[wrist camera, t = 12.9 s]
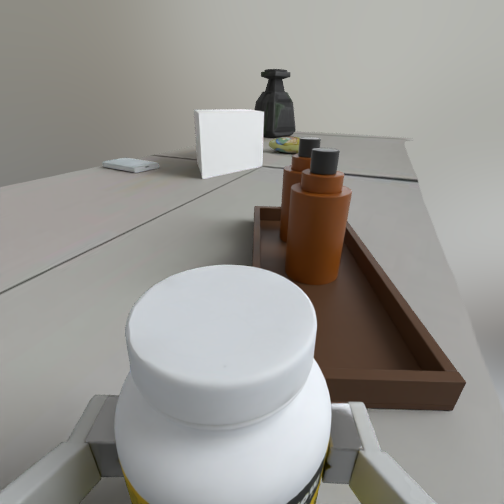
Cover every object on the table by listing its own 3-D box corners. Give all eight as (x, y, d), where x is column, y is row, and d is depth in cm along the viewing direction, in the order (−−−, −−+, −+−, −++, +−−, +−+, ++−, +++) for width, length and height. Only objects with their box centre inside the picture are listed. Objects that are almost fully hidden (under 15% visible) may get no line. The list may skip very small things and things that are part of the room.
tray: (452, 410, 19) (466, 382, 17) (247, 405, 19) (248, 376, 18) (335, 223, 47) (337, 207, 46) (254, 221, 47) (254, 206, 46)
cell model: (310, 148, 102) (271, 129, 103) (301, 168, 107) (263, 149, 108) (317, 138, 110) (280, 120, 111) (308, 157, 115) (273, 140, 116)
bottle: (296, 136, 159) (301, 70, 145) (273, 138, 149) (276, 67, 136) (272, 133, 171) (274, 72, 158) (250, 135, 161) (250, 70, 148)
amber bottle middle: (343, 286, 30) (367, 155, 24) (287, 284, 30) (297, 153, 24) (331, 259, 35) (348, 145, 29) (283, 258, 35) (291, 144, 29)
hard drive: (101, 161, 80) (133, 166, 75) (127, 157, 87) (158, 161, 81) (103, 167, 81) (135, 173, 75) (128, 163, 87) (159, 168, 82)
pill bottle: (263, 707, 9) (290, 514, 4) (116, 564, 11) (18, 340, 6) (325, 490, 14) (373, 282, 9) (212, 426, 16) (199, 238, 11)
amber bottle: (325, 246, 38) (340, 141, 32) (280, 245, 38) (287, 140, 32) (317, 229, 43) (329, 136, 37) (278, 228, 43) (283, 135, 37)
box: (163, 176, 73) (156, 111, 67) (219, 152, 108) (218, 108, 102) (243, 182, 69) (243, 114, 63) (274, 155, 104) (277, 109, 97)
